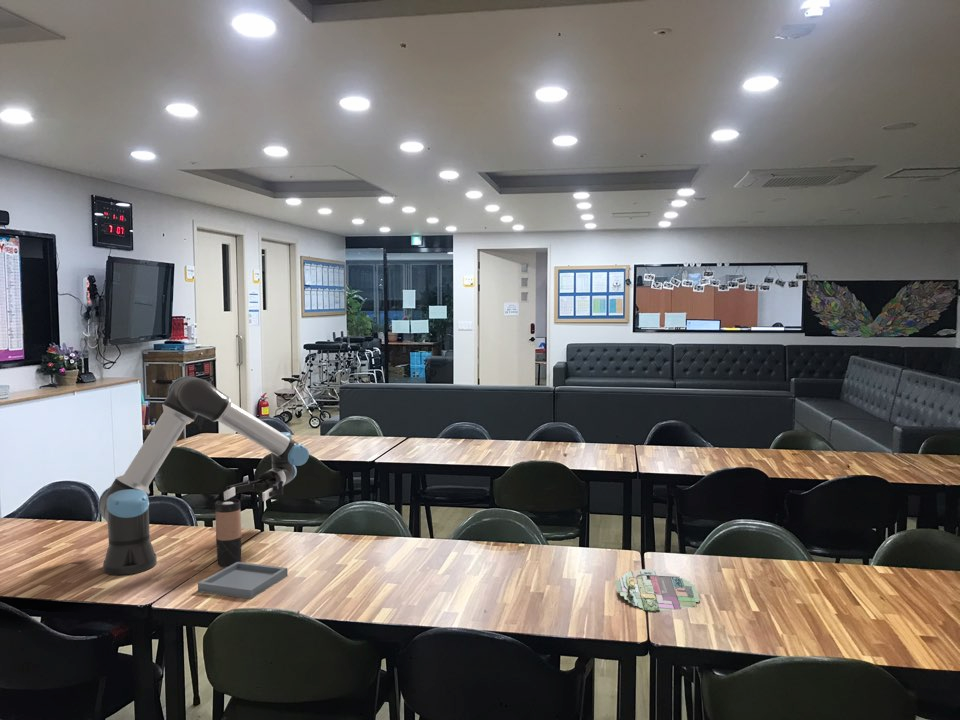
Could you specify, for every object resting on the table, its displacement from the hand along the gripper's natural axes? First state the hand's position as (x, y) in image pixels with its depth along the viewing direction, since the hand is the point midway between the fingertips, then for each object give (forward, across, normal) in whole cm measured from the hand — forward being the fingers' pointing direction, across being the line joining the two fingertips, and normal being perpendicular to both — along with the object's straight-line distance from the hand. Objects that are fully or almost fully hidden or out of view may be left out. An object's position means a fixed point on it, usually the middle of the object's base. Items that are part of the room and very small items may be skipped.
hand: (244, 496), depth 234 cm
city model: (+20, -132, -21) cm, 135 cm away
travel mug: (+10, +1, -19) cm, 22 cm away
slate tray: (+26, -12, -19) cm, 34 cm away
